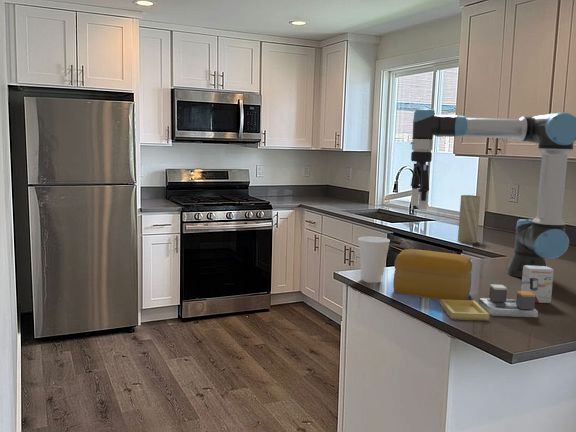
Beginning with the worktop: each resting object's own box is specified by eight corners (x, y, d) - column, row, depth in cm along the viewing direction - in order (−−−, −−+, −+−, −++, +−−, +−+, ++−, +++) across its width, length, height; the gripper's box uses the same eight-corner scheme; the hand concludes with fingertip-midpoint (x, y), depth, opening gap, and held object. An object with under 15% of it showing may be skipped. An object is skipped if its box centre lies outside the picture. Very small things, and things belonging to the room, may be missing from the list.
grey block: (528, 305, 169) (530, 291, 168) (534, 309, 165) (535, 294, 164) (515, 305, 169) (517, 290, 168) (521, 309, 165) (522, 294, 164)
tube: (479, 243, 289) (483, 197, 285) (461, 242, 289) (464, 196, 285) (473, 239, 299) (476, 195, 295) (455, 239, 299) (458, 194, 295)
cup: (392, 279, 205) (394, 238, 203) (381, 286, 195) (383, 243, 193) (363, 275, 211) (365, 235, 209) (351, 281, 201) (353, 239, 199)
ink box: (525, 302, 180) (528, 268, 178) (519, 298, 185) (522, 265, 183) (551, 303, 180) (555, 269, 178) (544, 299, 185) (547, 265, 183)
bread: (392, 292, 188) (394, 250, 186) (402, 284, 199) (404, 245, 197) (464, 304, 177) (467, 259, 175) (470, 294, 188) (473, 252, 186)
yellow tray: (474, 306, 174) (474, 300, 174) (488, 320, 160) (489, 314, 160) (440, 305, 174) (440, 299, 174) (451, 319, 160) (452, 312, 160)
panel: (521, 305, 176) (522, 299, 176) (537, 317, 165) (538, 310, 164) (478, 304, 177) (479, 297, 176) (491, 315, 165) (492, 308, 165)
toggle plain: (501, 298, 176) (502, 284, 175) (505, 302, 172) (507, 288, 171) (489, 298, 176) (490, 284, 175) (493, 301, 172) (494, 287, 171)
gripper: (405, 150, 213) (402, 203, 216) (418, 151, 188) (415, 211, 191) (424, 150, 213) (421, 203, 216) (440, 152, 188) (436, 211, 191)
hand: (418, 207), depth 204 cm, fingers open, 13 cm apart
